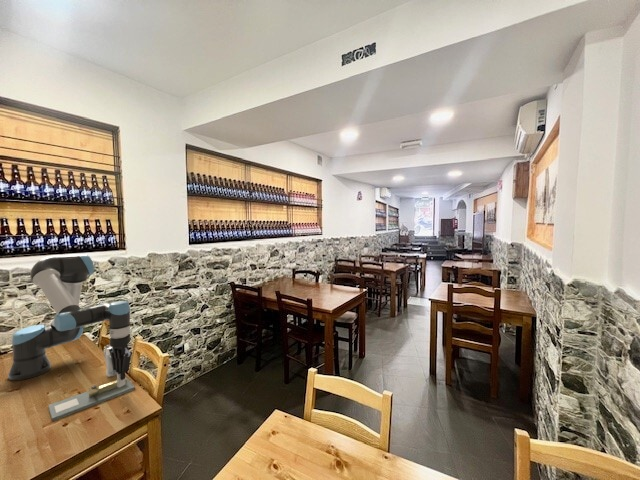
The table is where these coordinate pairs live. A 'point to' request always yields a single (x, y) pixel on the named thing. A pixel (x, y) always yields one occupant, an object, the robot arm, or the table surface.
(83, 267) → the robot arm
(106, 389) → the latch bar
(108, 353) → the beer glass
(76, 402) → the door board
